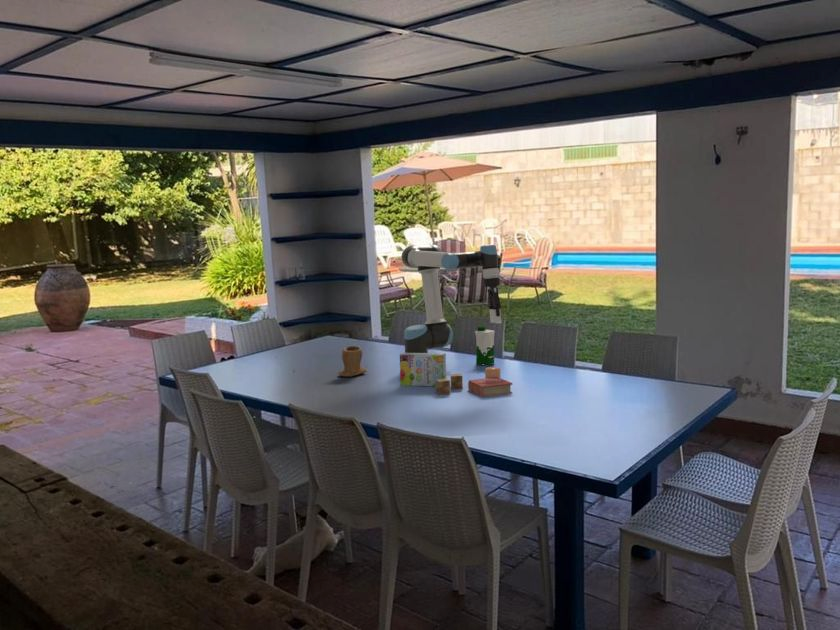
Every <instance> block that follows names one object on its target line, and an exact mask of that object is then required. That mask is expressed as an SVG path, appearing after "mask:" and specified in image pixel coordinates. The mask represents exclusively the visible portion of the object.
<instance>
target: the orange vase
mask: <svg viewBox="0 0 840 630" xmlns="http://www.w3.org/2000/svg"><path fill="white" fill-rule="evenodd" d="M362 358H363V349H362V347H360V346H358V345H348V346H346V347H344V348H343V349H342V352H341V360H342V363H343V367H344V369H343V370H340V371H338V372H337V375H338V376H341V377H349V378H350V377H353V376H357V375H361V374H364V373H366V372H368V371H367V369H366V368H365V367H364V366H363V365H361V362H362V361H361V360H362Z"/></svg>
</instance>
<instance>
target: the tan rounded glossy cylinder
mask: <svg viewBox="0 0 840 630" xmlns="http://www.w3.org/2000/svg"><path fill="white" fill-rule="evenodd" d="M484 376H485V377H484V378H493V377H499V378H501V367H497V366H489V367H488V366H487V367H485V369H484Z"/></svg>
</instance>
